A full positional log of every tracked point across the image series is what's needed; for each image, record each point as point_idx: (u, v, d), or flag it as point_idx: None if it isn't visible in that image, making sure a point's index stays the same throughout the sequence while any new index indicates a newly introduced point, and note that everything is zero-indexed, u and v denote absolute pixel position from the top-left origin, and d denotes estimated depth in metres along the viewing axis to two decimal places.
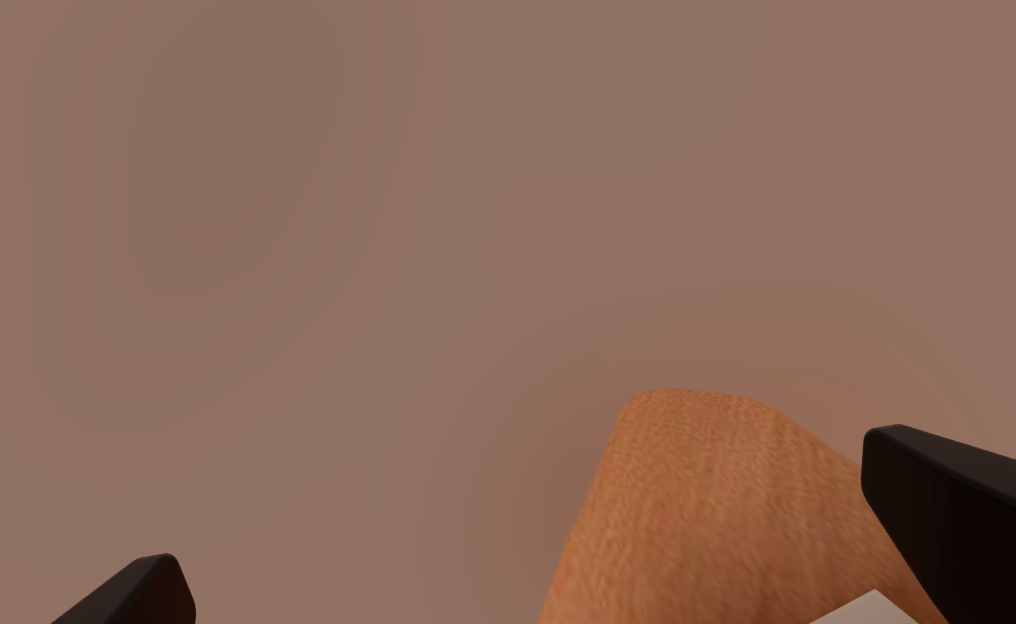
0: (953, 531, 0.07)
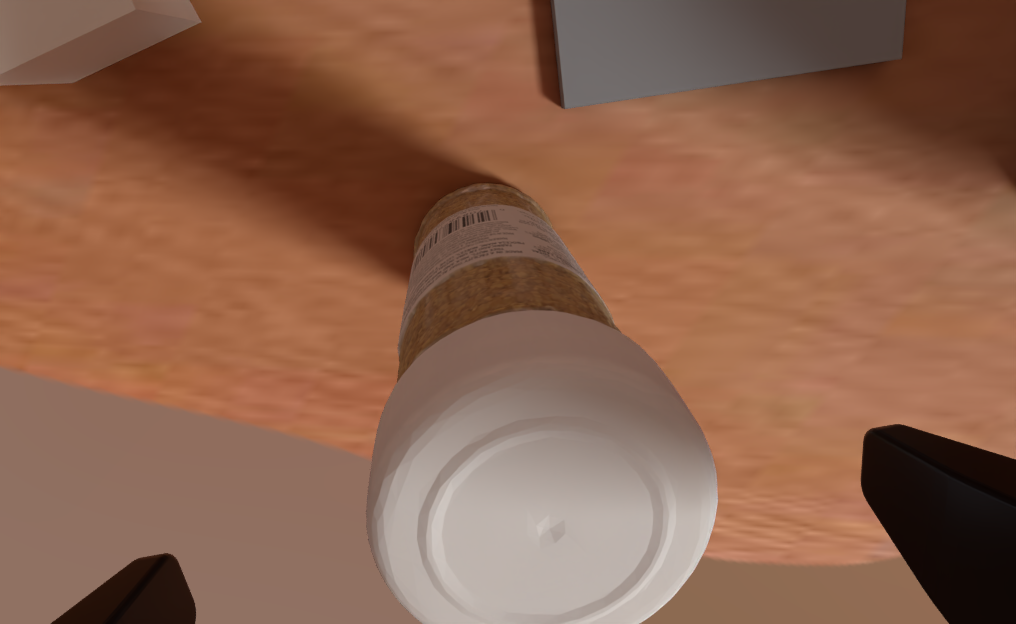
0: (953, 531, 0.07)
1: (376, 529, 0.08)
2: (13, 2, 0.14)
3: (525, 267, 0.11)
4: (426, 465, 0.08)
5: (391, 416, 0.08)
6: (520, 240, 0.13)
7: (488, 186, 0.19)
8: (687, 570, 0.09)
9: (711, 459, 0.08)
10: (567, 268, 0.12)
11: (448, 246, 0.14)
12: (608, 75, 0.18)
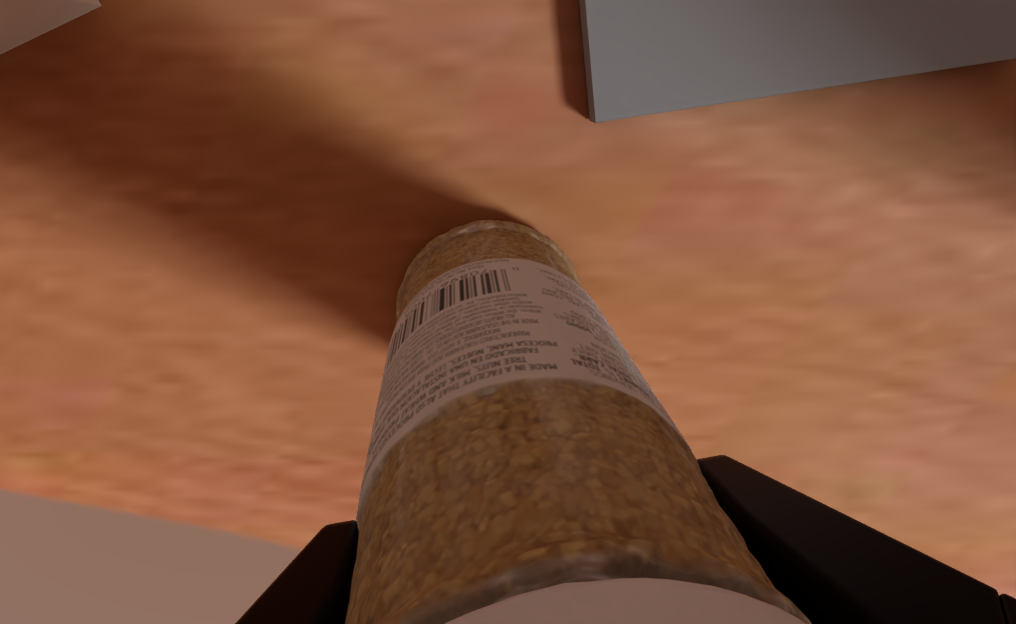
0: None
1: None
2: None
3: (565, 404, 0.07)
4: None
5: None
6: (549, 336, 0.08)
7: (494, 225, 0.14)
8: None
9: None
10: (630, 394, 0.07)
11: (438, 338, 0.09)
12: (654, 78, 0.14)
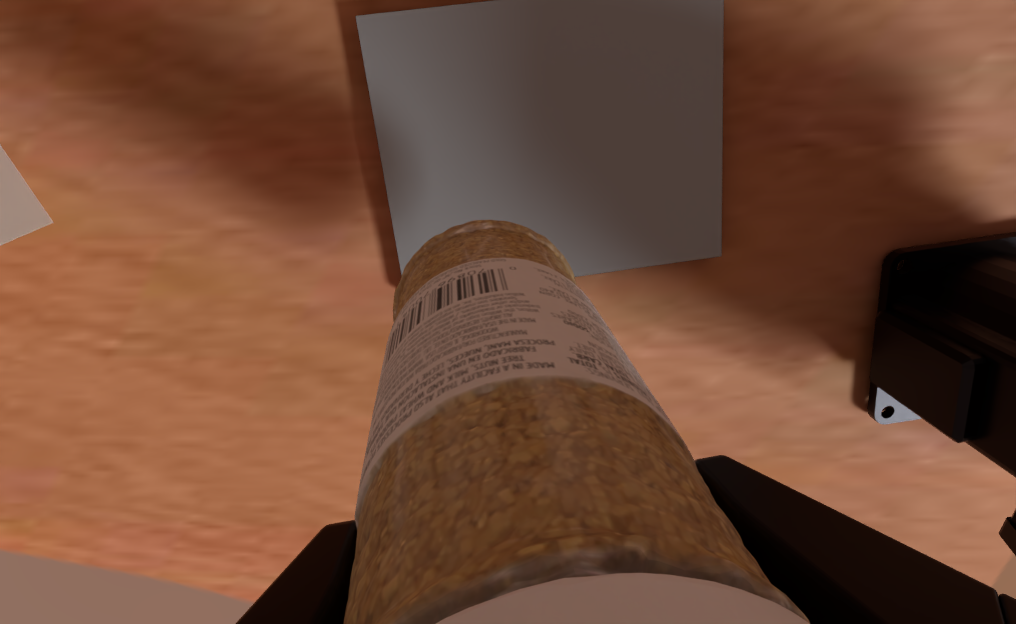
0: None
1: None
2: None
3: (562, 401, 0.07)
4: None
5: None
6: (547, 335, 0.08)
7: (491, 224, 0.15)
8: None
9: None
10: (627, 392, 0.07)
11: (436, 337, 0.09)
12: None
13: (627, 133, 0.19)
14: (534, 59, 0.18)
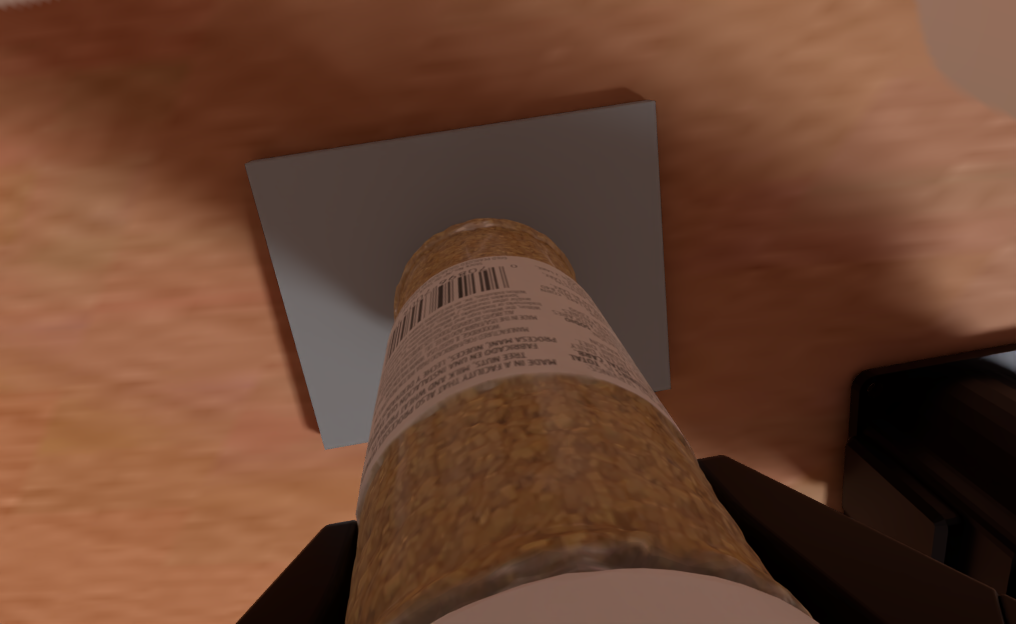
0: None
1: None
2: None
3: (564, 399, 0.07)
4: None
5: None
6: (549, 332, 0.08)
7: (491, 223, 0.15)
8: None
9: None
10: (629, 389, 0.07)
11: (437, 334, 0.09)
12: (366, 419, 0.18)
13: None
14: (448, 199, 0.16)
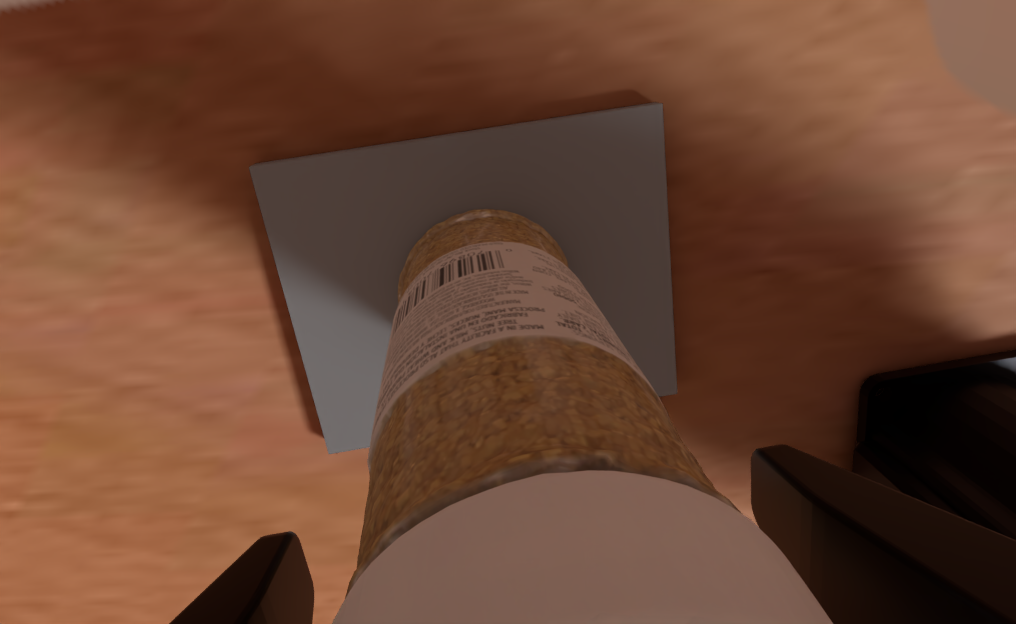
0: (818, 556, 0.07)
1: None
2: None
3: (550, 355, 0.08)
4: None
5: None
6: (538, 304, 0.09)
7: (489, 213, 0.16)
8: None
9: None
10: (608, 350, 0.09)
11: (439, 308, 0.10)
12: (370, 423, 0.18)
13: None
14: (453, 202, 0.16)
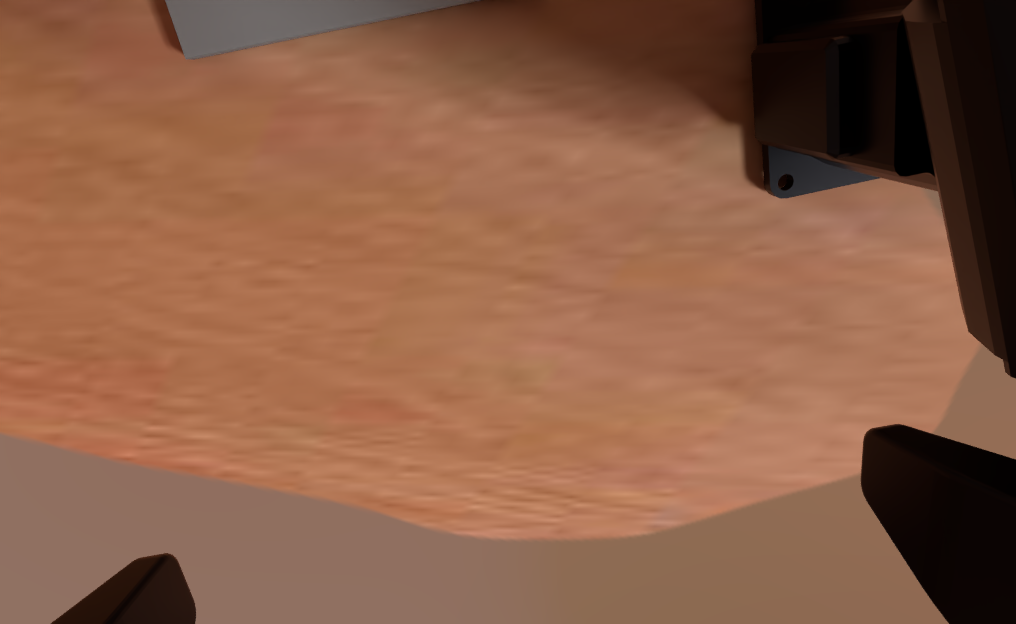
0: (953, 531, 0.07)
1: None
2: None
3: None
4: None
5: None
6: None
7: None
8: None
9: None
10: None
11: None
12: (225, 19, 0.17)
13: None
14: None
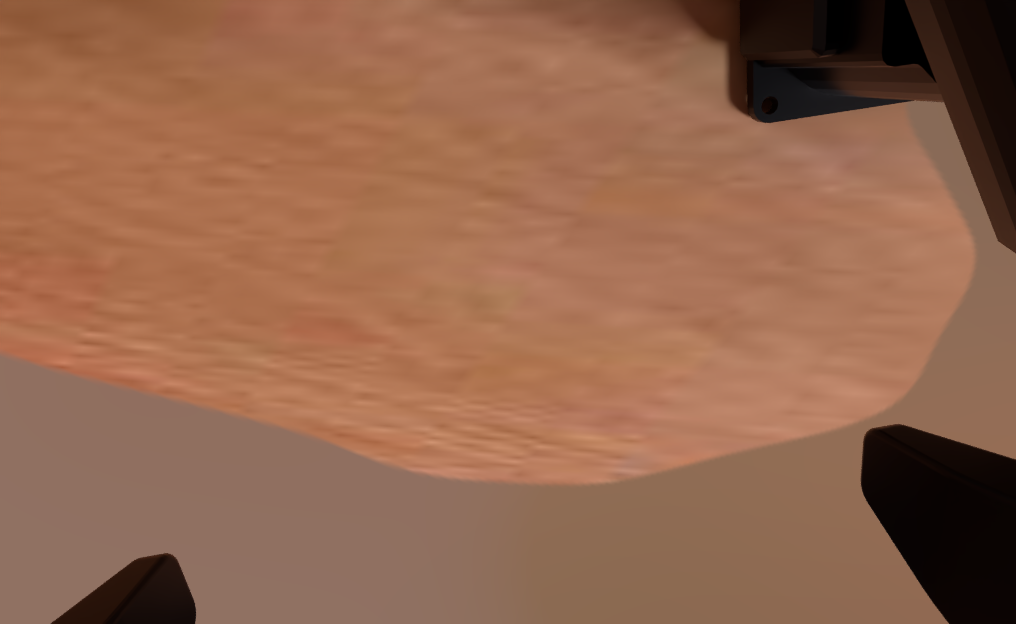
0: (953, 531, 0.07)
1: None
2: None
3: None
4: None
5: None
6: None
7: None
8: None
9: None
10: None
11: None
12: None
13: None
14: None
